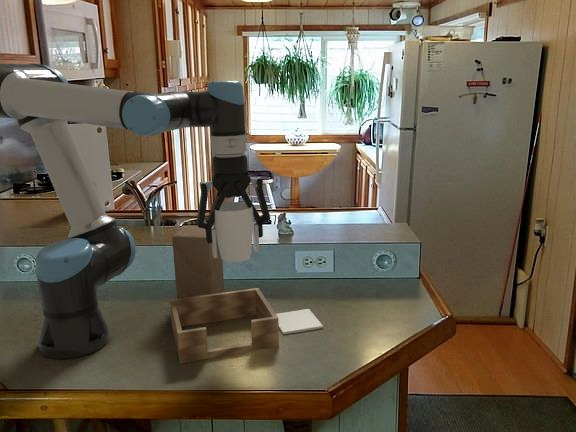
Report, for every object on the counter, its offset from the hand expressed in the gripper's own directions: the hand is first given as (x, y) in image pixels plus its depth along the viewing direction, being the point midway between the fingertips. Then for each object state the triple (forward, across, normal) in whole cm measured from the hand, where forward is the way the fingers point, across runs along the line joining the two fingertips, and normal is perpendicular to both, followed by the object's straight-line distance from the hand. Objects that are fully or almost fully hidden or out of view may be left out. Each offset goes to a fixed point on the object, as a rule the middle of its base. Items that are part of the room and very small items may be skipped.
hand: (235, 253), depth 119 cm
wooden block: (+20, -7, +21) cm, 30 cm away
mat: (+20, +14, +2) cm, 25 cm away
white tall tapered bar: (+18, -44, +139) cm, 147 cm away
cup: (+1, 0, 0) cm, 1 cm away
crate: (+20, -4, 0) cm, 20 cm away
